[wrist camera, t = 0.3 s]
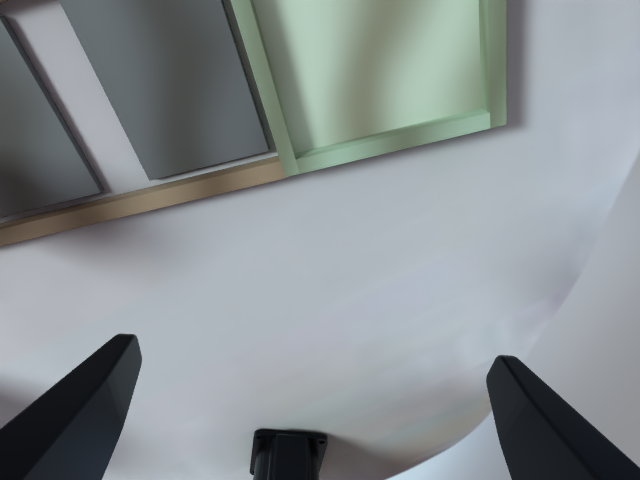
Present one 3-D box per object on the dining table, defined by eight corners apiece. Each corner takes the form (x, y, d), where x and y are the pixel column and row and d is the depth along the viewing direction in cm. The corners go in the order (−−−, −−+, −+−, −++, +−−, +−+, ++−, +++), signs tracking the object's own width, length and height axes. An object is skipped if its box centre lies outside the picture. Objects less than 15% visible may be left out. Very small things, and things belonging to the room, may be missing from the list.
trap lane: (-79, 259, 25) (-98, 271, 24) (-265, 57, 19) (-304, 61, 18) (495, 121, 21) (506, 128, 20) (491, -186, 15) (506, -202, 14)
